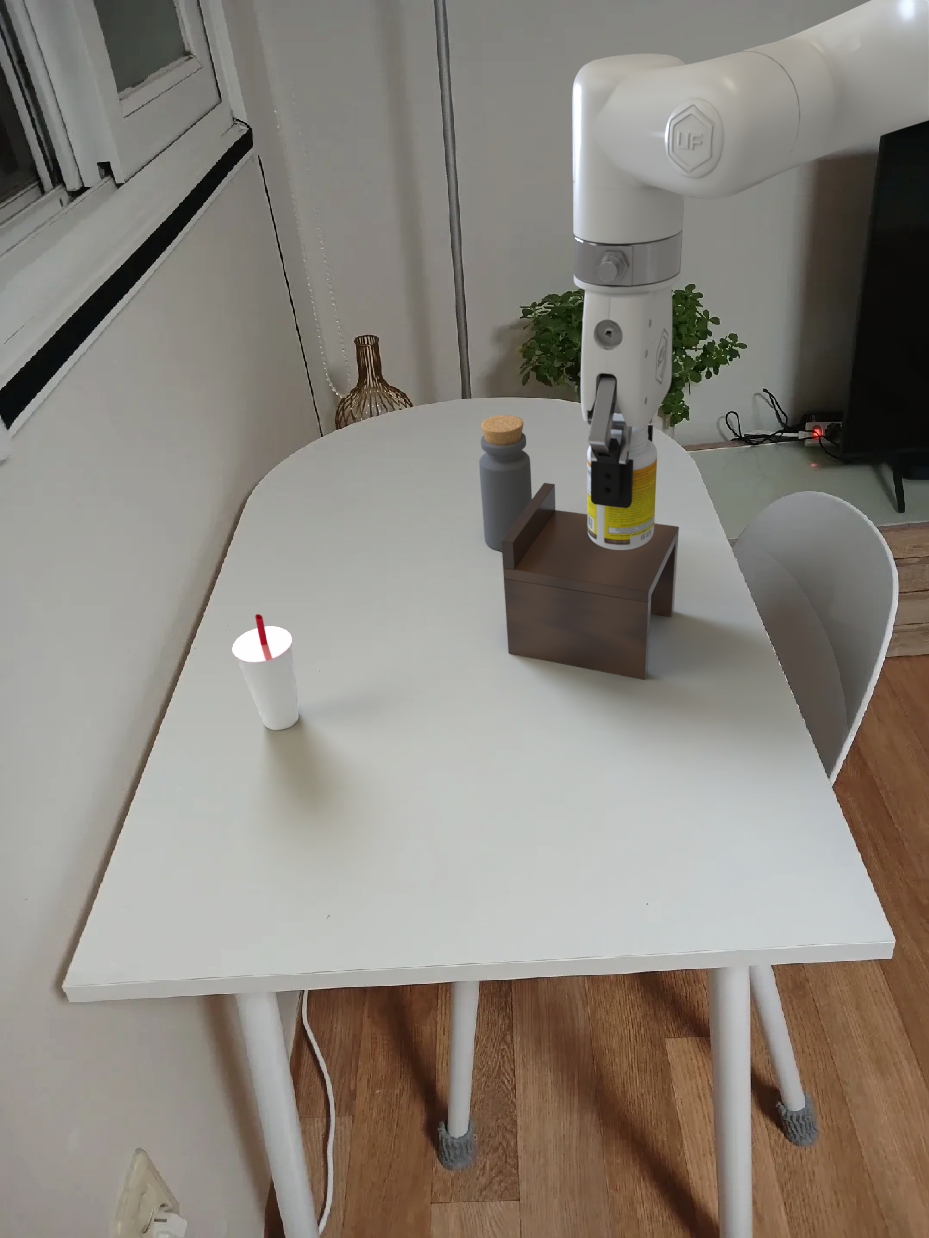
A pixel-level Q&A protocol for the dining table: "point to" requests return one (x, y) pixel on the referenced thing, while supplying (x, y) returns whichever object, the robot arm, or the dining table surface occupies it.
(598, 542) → the supplement bottle
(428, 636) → the dining table surface
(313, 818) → the dining table surface
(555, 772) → the dining table surface
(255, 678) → the cup
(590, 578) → the shelf
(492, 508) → the bottle
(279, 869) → the dining table surface
